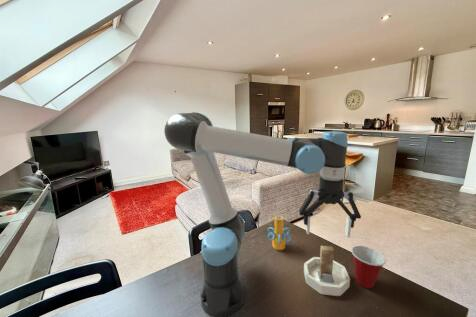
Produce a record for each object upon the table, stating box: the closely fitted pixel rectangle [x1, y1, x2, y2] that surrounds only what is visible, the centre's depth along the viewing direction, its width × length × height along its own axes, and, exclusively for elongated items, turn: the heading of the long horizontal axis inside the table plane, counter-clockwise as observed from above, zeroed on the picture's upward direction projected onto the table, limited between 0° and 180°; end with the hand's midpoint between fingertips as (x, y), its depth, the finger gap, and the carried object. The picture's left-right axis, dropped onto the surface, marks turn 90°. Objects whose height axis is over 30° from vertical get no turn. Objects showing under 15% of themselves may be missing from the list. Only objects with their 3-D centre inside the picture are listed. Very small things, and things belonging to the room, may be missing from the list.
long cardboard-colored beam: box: [319, 245, 335, 278], centre depth 79 cm, size 4×2×12 cm, turn 81°
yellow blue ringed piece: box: [267, 215, 292, 251], centre depth 100 cm, size 12×10×15 cm
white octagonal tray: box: [303, 256, 351, 297], centre depth 81 cm, size 15×15×4 cm
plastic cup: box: [350, 244, 387, 289], centre depth 77 cm, size 11×11×12 cm
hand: (327, 233), depth 77 cm, fingers open, 13 cm apart
